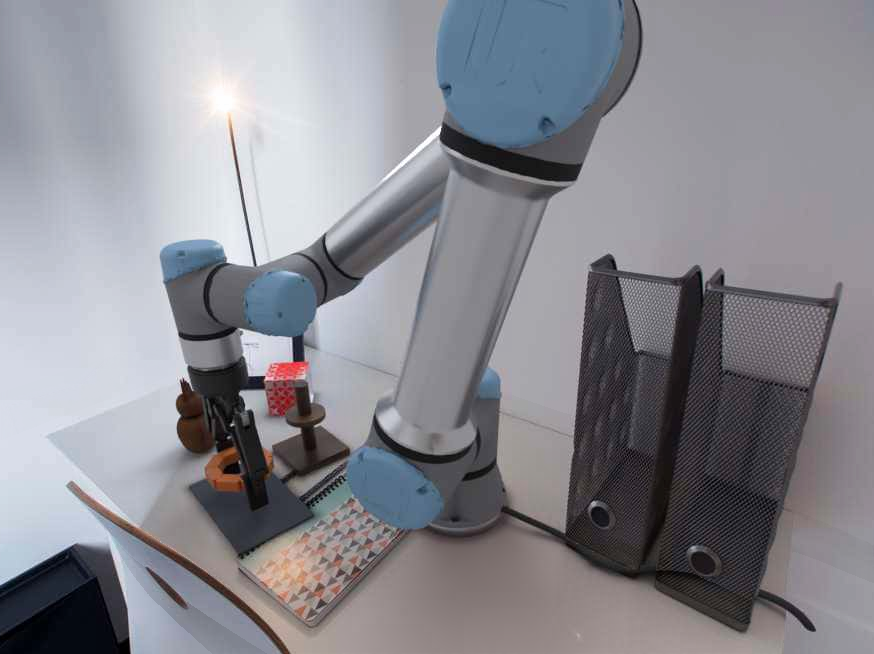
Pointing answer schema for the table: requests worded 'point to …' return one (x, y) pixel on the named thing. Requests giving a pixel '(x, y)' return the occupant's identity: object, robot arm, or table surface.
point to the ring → (229, 480)
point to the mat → (247, 525)
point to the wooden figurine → (192, 421)
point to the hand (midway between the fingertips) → (245, 490)
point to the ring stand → (308, 436)
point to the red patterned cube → (285, 385)
